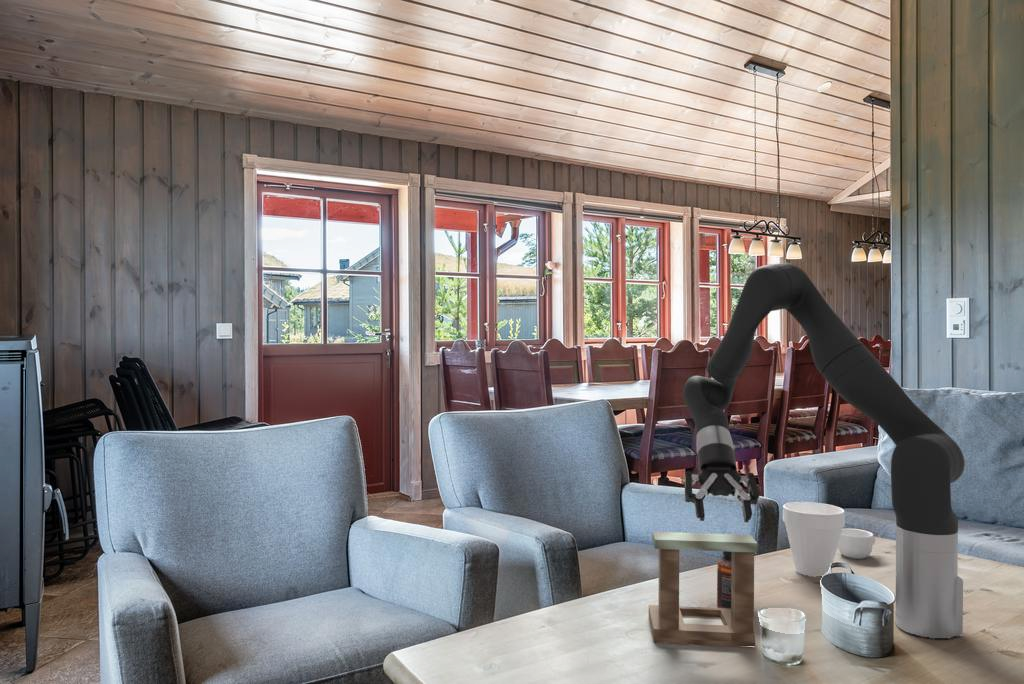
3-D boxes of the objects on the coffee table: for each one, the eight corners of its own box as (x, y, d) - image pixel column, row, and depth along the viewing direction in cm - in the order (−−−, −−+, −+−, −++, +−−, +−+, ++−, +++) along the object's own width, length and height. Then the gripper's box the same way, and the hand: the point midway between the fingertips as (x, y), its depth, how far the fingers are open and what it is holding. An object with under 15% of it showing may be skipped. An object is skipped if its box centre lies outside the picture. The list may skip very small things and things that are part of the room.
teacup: (854, 562, 164) (855, 538, 164) (828, 553, 171) (828, 530, 171) (888, 558, 167) (888, 534, 167) (860, 549, 175) (861, 526, 175)
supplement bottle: (753, 617, 131) (753, 553, 131) (718, 614, 132) (718, 551, 132) (749, 605, 137) (749, 544, 137) (715, 603, 138) (716, 542, 138)
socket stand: (741, 621, 129) (742, 524, 129) (756, 650, 117) (757, 543, 117) (648, 617, 130) (649, 521, 130) (654, 645, 119) (654, 539, 118)
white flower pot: (825, 585, 148) (826, 517, 148) (770, 570, 158) (771, 506, 158) (855, 573, 156) (855, 509, 156) (801, 559, 165) (801, 499, 165)
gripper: (682, 440, 154) (689, 508, 142) (753, 442, 152) (765, 510, 141) (679, 462, 159) (685, 528, 148) (747, 463, 158) (759, 531, 146)
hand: (724, 519), depth 144 cm, fingers open, 8 cm apart
